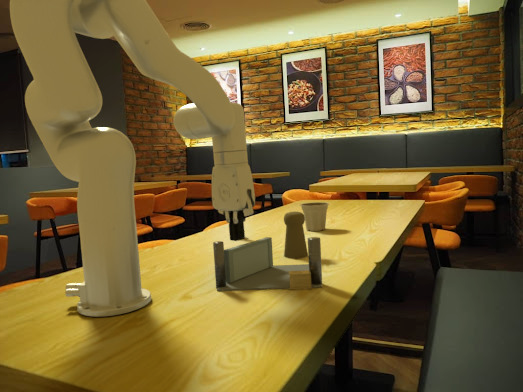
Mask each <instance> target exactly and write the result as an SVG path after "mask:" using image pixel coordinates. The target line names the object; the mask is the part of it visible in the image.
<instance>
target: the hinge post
mask: <svg viewBox="0 0 523 392" xmlns="http://www.w3.org/2000/svg"><path fill="white" fill-rule="evenodd" d="M224 246H225V244H224V241H220V240H219V241H214V242H213V243H212V247H213V260H214V262H213V263H214V274H215V277H214V279H215V288H216V289H217V288H222V287H225V286H226V274H225V259H224V250H225V248H224Z"/></svg>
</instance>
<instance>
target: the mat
mask: <svg viewBox="0 0 523 392" xmlns="http://www.w3.org/2000/svg"><path fill="white" fill-rule="evenodd" d="M305 270H309V263H307V264H278V265H273V266H272V267H269V268H266V269H264V270H261V271H259V272H256V273H253V274H251V275H248V276H246V277H243V278H241V279H238V280H235V281H234V282H231V283H229V282H226V286H225V287H222V288H216V291H217V292H218V291H219V292H220V291H222V292H224V291H225V292H227V291H253V290H255V291H256V290H257V291H258V290H279V289H280V290H281V289H282V290H283V289H290V278H289V271H305ZM322 287H323V283H322V284H318V285H313V284H311V288H312V289H313V288H317V289H318V288H322Z"/></svg>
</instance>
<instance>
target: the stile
mask: <svg viewBox="0 0 523 392" xmlns="http://www.w3.org/2000/svg"><path fill="white" fill-rule="evenodd" d="M321 245H322V244H321V237H318V236H312V237H308V238H307V252H308V256H307V257H308V264H309V270H305V271H289V278H290V288H289V290H290V291H297V290H300V291H301V290H312V289H313V288H311V284H313V285H318V284H322V285H323V273H322V272H323V271H322V270H323V267H322V250H321V249H322V247H321Z"/></svg>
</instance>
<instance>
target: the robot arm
mask: <svg viewBox="0 0 523 392" xmlns="http://www.w3.org/2000/svg"><path fill="white" fill-rule="evenodd" d="M9 16H10V22H11V27H12V30H13V35H14V37H15V39H16V42H17V44H18V47H19V48H20V51H21V53H22V56H23V57H24V60H25V62H26V65H27V67H28V69H29V72H30V73H31V75H32V77H33V80H32V81H31V82H30V83H29V84H28V86H27V88H26V90H25V94H24V103H25V104H24V105H25V108H26V113H27V115H28V118H29V120H30V121H31V124H32V126H33V128H34V130H35V131H36V134H37V135H38V137H39V140H40V141H41V142H42V144H43V147H44V149H45V150H46V153H47V154H48V156H49V158H50V160H51V161H52V163H53V165H54V167H56V169H57V170H58V172H59V173H60V174H61V175H62V176H63V177H65V178H67V179H68V180H71V181H74V182H76V183H78V186H77V195H76V196H77V199H76V209H77V211H76V212H77V220H78V229H79V238H80V250H81V260H82V261H81V262H82V269H83V280H84V281H83V282H80V283H79V282H70V283H69V282H68V283H67V284H66V285H65V296H66V297H67V298H68V297H69V298H70V297H78V298H79V299H80V300H79V301H78V303H77V304H76V307H77V312H78V313H79V314H80V315H83V316H86V317H95V318H99V317H100V318H101V317H113V316H118V315H122V314H127V313H130V312H134V311H136V310H139V309H142V308H144V307H145V306H147V305H148V304H149V303H150V302H151V301H152V292H151V291H150V290H148V289H146V288H142V278H141V277H142V276H141V266H140V265H141V264H140V254H139V242H138V231H137V230H138V227H137V216H136V208H135V178H136V177H135V176H136V175H135V174H136V165H137V158H136V156H137V155H136V152H135V148H134V145H133V143H132V141H131V140H130V138H129V137H128V136H127V135H126V134H124V133H123V132H122V131H120V130H118V129H116V128H112V127H105V126H103V127H101V126H100V127H99V126H97V127H92V126H91V124H90V121H91V120H92V119H94V118H95V117H97V115H98V114H99V113H100V112H101V111H102V106H103V96H102V92H101V90H100V88H99V85H98V83H97V81H96V79H95V77H94V74H93V72H92V70H91V68H90V66H89V63H88V61H87V59H86V57H85V54H84V53H83V52H84V51H82V48H81V46H80V43H79V41H78V37H77V36H76V34H80V35H81V36H82V35H83V36H85V37H91V38H94V39H101V40H104V39H110V38H112V37H113V38H114V39H116V41H117V42H118V44H119V45H120V46H121V49H123V51H124V52H125V53H126V54H127V57H129V59H130V60H131V62H132V64H133V65H134V66H135V67H136V69H137V70H138V72H140V73H141V74H142V75H143V76H145V77H147V78H150V79H151V80H154V81H157V82H160V83H163V84H167V85H169V86H172V87H174V88H175V89H177V90H179V91H180V92H181V93H183V94H184V95H185V96H186V97H187V98H188V99H189V100H190V101H191V102H192V103H188V104H186V105H183V106H181V107H179V108H178V109H177V111H176V112H175V114H174V117H173V127H174V128H175V131H176V132H177V133H178V134H179V135H180V136H181V137H183V138H186V139H189V140H190V139H191V140H198V139H199V140H200V139H207V138H211V139H212V151H213V161H214V163H213V164H214V166H213V167H212V172H211V201H212V207H213V209H215V210H217V212H218V213H219V214H221V215H223V216H224V217H225V220H226V223H227V224H228V231H229V240H230V241H233V242H237V241H240V240H243V239H245V237H246V236H245V235H246V234H245V232H244V231H245V223H244V222H246V218H247V217H248V216H252V215H253V214H254V213H255V211H254V209H253V208H254V207H255V205H256V197H255V196H256V194H255V187H254V180H253V175H252V170H251V167H250V165H249V161H248V158H249V157H248V149H247V148H248V147H247V137H246V136H247V135H246V120H245V113H244V111H245V110H244V107H243V106H242V105H241V103H237V102H231V100H230V98H229V96H228V95H227V94H226V91H225V90H224V89H223V87H222V86H221V83H220V82H219V81H218V79H217V78H216V77H215V76H214V75H213V74H212V73H211V72H210V71H209V70H208V69H206V68H205V67H204V66H203V65H202V64H200V63H199V62H198V61H196V60H194V59H193V58H192V57H190V56H188V54H186V53H184V52H183V51H181V50H180V49H179V48H178V47H177V46H176V44H175V43H174V41H173V40H172V39H171V36H170V35H169V33H168V32H167V31H166V29H165V28H164V26H163V25H162V23H161V22H160V20H159V19H158V17H157V16H156V14H155V12H154V11H153V9H152V7H151V6H150V5H149V3H148V1H147V0H9Z"/></svg>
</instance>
